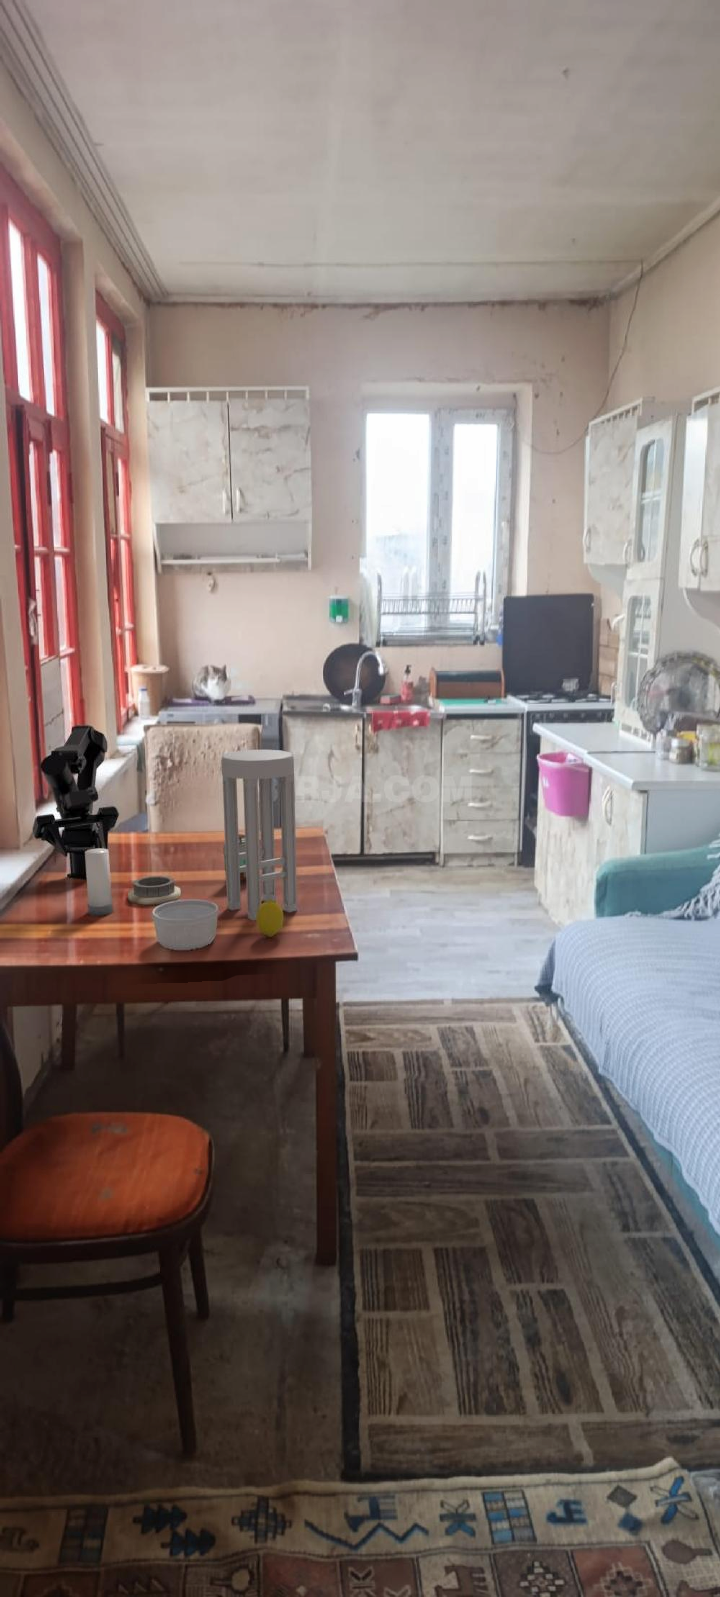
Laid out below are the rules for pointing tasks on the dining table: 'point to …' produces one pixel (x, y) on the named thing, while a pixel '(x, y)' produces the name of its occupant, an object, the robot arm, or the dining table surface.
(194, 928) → the ramekin
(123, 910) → the dining table surface
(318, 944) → the dining table surface
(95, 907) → the white smooth rounded part
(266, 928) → the lemon
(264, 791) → the stool
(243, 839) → the food container
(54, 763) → the robot arm
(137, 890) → the socket
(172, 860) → the dining table surface
